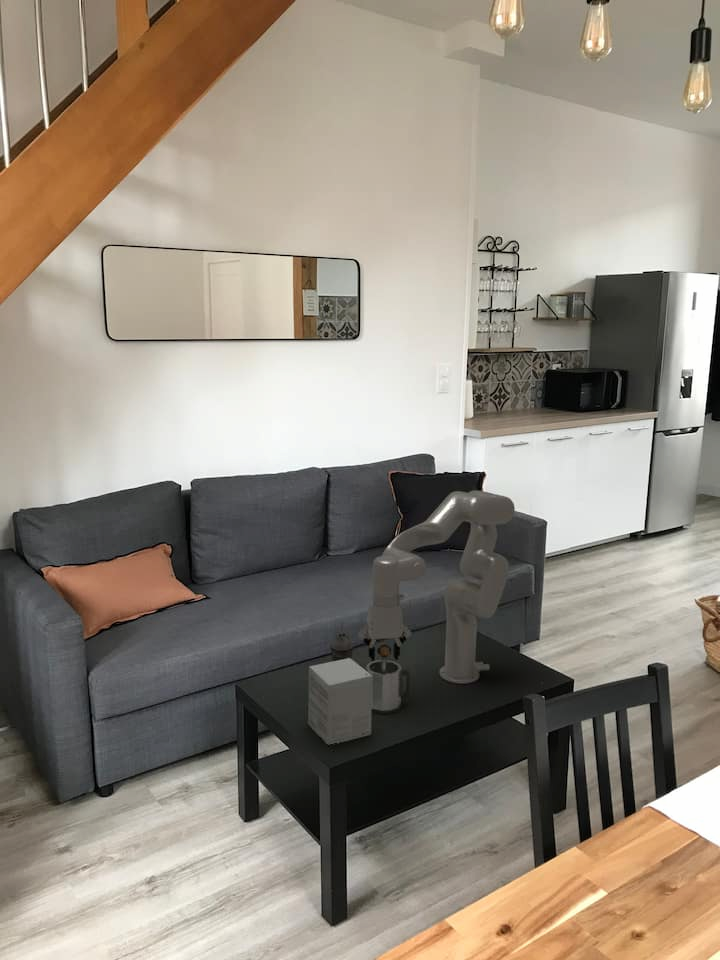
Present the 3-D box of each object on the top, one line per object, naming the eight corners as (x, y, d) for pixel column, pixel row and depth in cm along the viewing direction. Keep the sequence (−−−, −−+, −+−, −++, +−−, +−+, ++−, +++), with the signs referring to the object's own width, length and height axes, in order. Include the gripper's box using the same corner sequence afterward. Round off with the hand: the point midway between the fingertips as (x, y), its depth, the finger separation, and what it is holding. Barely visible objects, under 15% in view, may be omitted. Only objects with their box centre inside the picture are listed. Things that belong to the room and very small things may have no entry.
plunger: (393, 689, 232) (394, 638, 229) (398, 701, 224) (400, 648, 221) (368, 691, 231) (369, 639, 227) (372, 703, 223) (373, 649, 220)
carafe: (404, 695, 234) (405, 658, 232) (412, 712, 224) (413, 673, 222) (362, 698, 232) (363, 660, 230) (368, 715, 222) (369, 676, 220)
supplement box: (349, 714, 223) (350, 656, 219) (371, 735, 211) (373, 675, 208) (307, 724, 217) (307, 665, 213) (328, 746, 205) (328, 685, 202)
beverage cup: (354, 677, 246) (355, 617, 242) (351, 687, 239) (352, 626, 235) (331, 675, 247) (332, 616, 243) (328, 686, 240) (329, 624, 236)
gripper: (412, 594, 227) (410, 651, 230) (353, 596, 224) (352, 654, 227) (418, 603, 219) (416, 662, 223) (357, 605, 217) (356, 665, 220)
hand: (384, 658), depth 225 cm, fingers open, 6 cm apart
